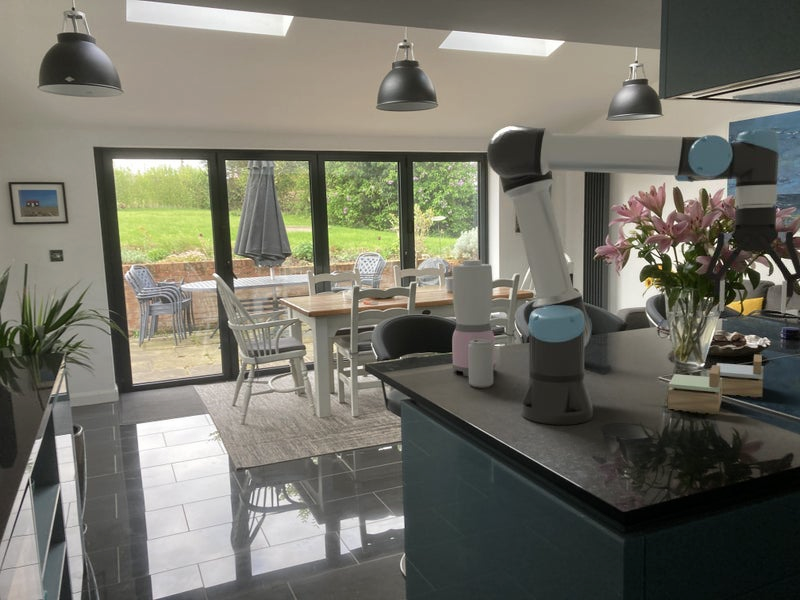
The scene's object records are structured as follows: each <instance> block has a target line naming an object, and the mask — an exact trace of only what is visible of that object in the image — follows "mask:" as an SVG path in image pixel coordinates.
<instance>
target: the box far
mask: <svg viewBox="0 0 800 600" xmlns="http://www.w3.org/2000/svg"><path fill="white" fill-rule="evenodd" d="M720 378H722V395H729V396H736V395H740V396H741V397H747V396H750V397H749V398H757V397H762V398H763V387H764V385H763V384H764V383H763V382H764V381H763V380H764V378H763V379H756V378H748V380H747V379H736V378H729V376H720ZM740 396H739V397H740Z"/></svg>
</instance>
